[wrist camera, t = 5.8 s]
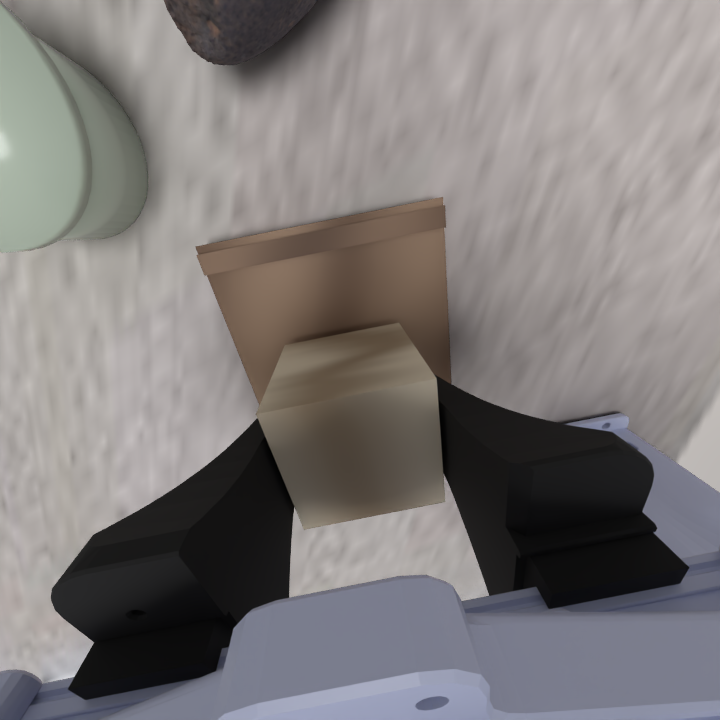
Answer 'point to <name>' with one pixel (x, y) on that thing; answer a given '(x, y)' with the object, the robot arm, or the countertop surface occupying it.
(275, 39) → the perforated stone tool
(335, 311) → the walnut board
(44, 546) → the countertop surface
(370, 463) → the beech block
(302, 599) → the robot arm
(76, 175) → the green lidded container
